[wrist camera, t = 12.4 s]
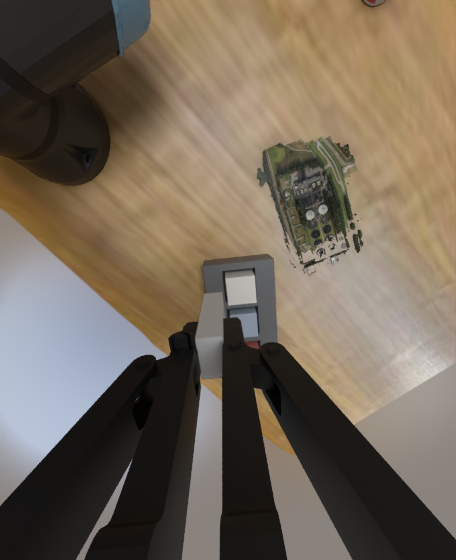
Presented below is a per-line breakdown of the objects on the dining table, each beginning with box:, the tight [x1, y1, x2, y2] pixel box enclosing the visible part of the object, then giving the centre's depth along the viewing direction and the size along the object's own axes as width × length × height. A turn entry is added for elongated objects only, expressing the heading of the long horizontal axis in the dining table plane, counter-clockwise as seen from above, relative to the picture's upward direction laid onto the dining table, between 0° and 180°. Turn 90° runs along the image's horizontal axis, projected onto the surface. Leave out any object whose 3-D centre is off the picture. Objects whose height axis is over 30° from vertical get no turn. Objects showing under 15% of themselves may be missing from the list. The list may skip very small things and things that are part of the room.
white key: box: [225, 269, 257, 306], centre depth 35 cm, size 5×5×4 cm
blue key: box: [229, 306, 258, 338], centre depth 39 cm, size 5×5×4 cm
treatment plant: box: [257, 136, 363, 276], centre depth 36 cm, size 25×18×4 cm
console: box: [202, 254, 278, 349], centre depth 41 cm, size 12×22×5 cm, turn 6°
